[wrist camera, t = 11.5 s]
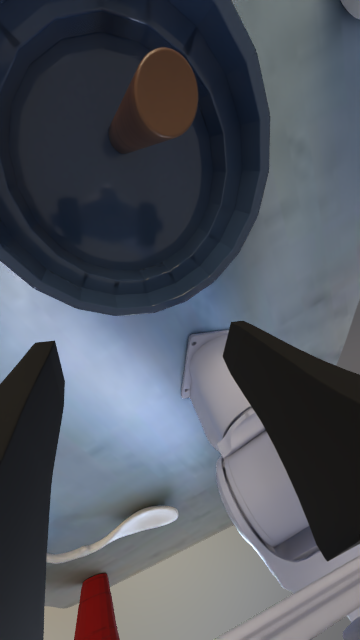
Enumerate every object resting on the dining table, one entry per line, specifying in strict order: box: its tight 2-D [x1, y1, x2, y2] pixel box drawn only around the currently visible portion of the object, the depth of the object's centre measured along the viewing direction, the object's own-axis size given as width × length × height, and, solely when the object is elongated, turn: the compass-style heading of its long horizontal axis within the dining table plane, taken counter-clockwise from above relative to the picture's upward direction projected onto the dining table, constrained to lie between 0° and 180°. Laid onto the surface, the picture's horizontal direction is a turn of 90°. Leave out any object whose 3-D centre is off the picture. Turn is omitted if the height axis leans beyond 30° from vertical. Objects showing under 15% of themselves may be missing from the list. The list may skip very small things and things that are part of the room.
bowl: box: [0, 0, 270, 316], centre depth 13 cm, size 15×15×4 cm
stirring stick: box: [108, 47, 198, 154], centre depth 9 cm, size 2×2×10 cm
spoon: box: [46, 506, 178, 563], centre depth 39 cm, size 9×32×4 cm, turn 81°
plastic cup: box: [74, 573, 120, 640], centre depth 52 cm, size 11×11×12 cm
